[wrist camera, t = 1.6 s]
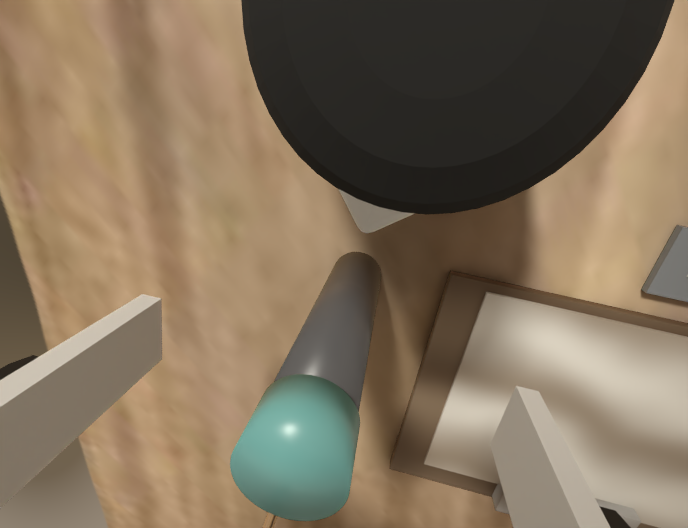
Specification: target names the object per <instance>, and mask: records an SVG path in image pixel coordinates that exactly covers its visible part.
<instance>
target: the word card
mask: <svg viewBox="0 0 688 528" xmlns="http://www.w3.org/2000/svg"><path fill="white" fill-rule="evenodd" d="M641 290H643V291H644V292H645V293H649V294H653V295H658V296H662V297H667V298H672V299H676V300H681V301H685V302H688V227H684V226H679V225H677V226H676V228H675V229H674V231H673V233H672V235H671V237H670V238H669V240H668V242H667V244H666V246H665V248H664V249H663V251H662V253H661V255H660V257H659V258H658V260H657V262H656V264H655V266H654V268H653V269H652V271H651V273H650V275H649V277H648V278H647V280H646V282H645V284H644V286H643V287H642V289H641Z"/></svg>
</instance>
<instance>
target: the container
mask: <svg viewBox="0 0 688 528" xmlns="http://www.w3.org/2000/svg"><path fill="white" fill-rule="evenodd" d="M673 3H674V0H242V13H243V27H244V34H245V40H246V45H247V50H248V56H249V61H250V64H251V67H252V70H253V74H254V77H255V80H256V83H257V87H258V89H259V92H260V94H261V96H262V98H263V100H264V103H265V105H266V107H267V109H268V112H269V114H270V115H271V117H272V119H273V120H274V122H275V124H276V125H277V127H278V129H279V130H280V132H281V134H282V135H283V137H284V138H285V139H286V140H287V142H288V143H289V144H290V146H291V147H292V148H293V149H294V151H295V152H296V153H297V154H298V156H299V157H300V158H301V159H302V160H303V161H305V162H306V163H307V164H308V165H309V166H310V167H311V168H312V169H313V170H314V171H315V172H316V173H317V174H318V175H320V176H321V177H322V178H324V179H325V180H327V181H328V182H329V183H331V184H332V185H333V186H335V187H336V188H338V189H339V191H340V193H341V195H342V197H343V199H344V201H345V203H346V205H347V207H348V209H349V211H350V213H351V215H352V217H353V219H354V221H355V223H356V225H357V227H358V228H359V229H360V231H361V232H364V233H371V232H375V231H377V230H379V229H381V228H384V227H386V226H388V225H390V224H393V223H395V222H397V221H399V220H402V219H404V218H406V217H408V216H411V215H413V214H415V213H417V214H443V213H455V212H460V211H466V210H471V209H477V208H480V207H483V206H486V205H490V204H493V203H496V202H499V201H502V200H505V199H507V198H509V197H511V196H513V195H515V194H518V193H520V192H522V191H524V190H526V189H528V188H530V187H532V186H534V185H535V184H537V183H538V182H540V181H542V180H543V179H545V178H547V177H548V176H550V175H551V174H553V173H555V172H556V171H557V170H559V169H560V168H561V167H562V166H564V165H565V164H566V163H567V162H569V161H570V160H571V159H572V158H574V157H575V156H576V155H578V154H579V153H580V152H581V151H582V150H583V149H584V148H585V147H586V146H587V145H588V144H589V143H590V142H591V141H592V140H593V139H594V138H595V137H596V136H597V135H598V134H599V133H600V132H601V131H602V130H603V129H604V128H605V127H606V125H607V124H608V123H609V122H610V120H611V119H612V118H613V117H614V116H615V114H616V113H617V112H618V111H619V109H620V108H621V107H622V106H623V104H624V103H625V102H626V100H627V99H628V97H629V95H630V94H631V92H632V91H633V89H634V88H635V86H636V84H637V83H638V81H639V80H640V78H641V77H642V75H643V73H644V72H645V70H646V68H647V66H648V64H649V62H650V60H651V58H652V56H653V54H654V51H655V49H656V47H657V45H658V43H659V41H660V39H661V37H662V34H663V31H664V28H665V26H666V23H667V20H668V17H669V14H670V11H671V9H672V6H673Z"/></svg>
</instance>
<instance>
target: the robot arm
mask: <svg viewBox="0 0 688 528" xmlns="http://www.w3.org/2000/svg"><path fill="white" fill-rule="evenodd" d="M161 359H162V310H161V298H157V297H153V296H148V295H144V294H142V295H140V296H138V297H137V298H135V299H133V300H132V301H130V302H129V303H127V304H125V305H124V306H122V307H120V308H119V309H117V310H115V311H114V312H112V313H110V314H109V315H107V316H105V317H104V318H102V319H100V320H99V321H97V322H96V323H94V324H92V325H91V326H89V327H87V328H86V329H84V330H82V331H81V332H79V333H77V334H76V335H74V336H72V337H71V338H69V339H67V340H66V341H64V342H63V343H61V344H59V345H58V346H56V347H54V348H53V349H51V350H49V351H48V352H46V353H45V354H43V355H41V356H39V357H38V356H34V355H32V356H30V357H27V358H24V359H21V360H19V361H16V362H13V363H10V364H8V365H6V366H5V367H3V368H1V369H0V508H1V507H2V506H3V505H4V504H5V503H7V502H8V501H9V500H10V499H11V498H12V497H13V496H14V495H15V494H16V493H17V492H18V491H20V489H22V488H23V487H24V486H25V485H26V484H27V483H28V482H29V481H30V480H32V479H33V478H34V477H35V476H36V475H37V474H38V473H39V472H40V471H41V470H42V469H43V468H44V467H46V465H48V464H49V463H50V462H51V461H52V460H53V459H54V458H55V457H56V456H57V455H58V454H59V453H60V452H62V451H63V450H64V449H65V448H66V447H67V446H68V445H69V444H70V443H72V442H73V441H74V440H75V439H76V438H77V437H78V436H79V435H80V434H81V433H82V432H83V431H85V430H86V429H87V428H88V427H89V426H90V425H91V424H92V423H93V422H94V421H95V420H96V419H98V418H99V417H100V416H101V415H102V414H103V413H104V412H105V411H106V410H107V409H108V408H109V407H111V406H112V405H113V404H114V403H115V402H116V401H117V400H118V399H119V398H120V397H121V396H122V395H124V394H125V393H126V392H127V391H128V390H129V389H130V388H131V387H132V386H133V385H134V384H135V383H137V382H138V381H139V380H140V379H141V378H142V377H143V376H144V375H145V374H146V373H147V372H148V371H150V370H151V369H152V368H153V367H154V366H155V365H156V364H157V363H158V362H159V361H160V360H161ZM490 446H491V449H492V453H493V457H494V460H495V464H496V467H497V471H498V475H499V478H500V482H501V485H502V489H503V493H504V496H505V500H506V503H507V507H508V511H509V514H510V518H511V521H512V525H513V528H631V527H630V526H629V525H628V524H627V523H626V522H625V520H624V519H623V518H622V517H621V516H620V515H619V514H618V513H617V511H616V510H612V509H608V508H604V507H601V506H599V505H598V503H597V501H596V499H595V497H594V495H593V493H592V491H591V489H590V488H589V486H588V484H587V482H586V480H585V478H584V476H583V474H582V472H581V470H580V469H579V467H578V465H577V463H576V461H575V459H574V457H573V455H572V453H571V451H570V450H569V448H568V446H567V444H566V442H565V440H564V438H563V436H562V434H561V432H560V431H559V429H558V427H557V425H556V423H555V421H554V419H553V417H552V415H551V413H550V412H549V410H548V408H547V406H546V404H545V402H544V400H543V398H542V396H541V394H540V393H539V391H536V390H532V389H528V388H524V387H519V386H516V387H515V389H514V392H513V394H512V396H511V398H510V401H509V403H508V405H507V407H506V410H505V412H504V414H503V416H502V419H501V421H500V423H499V426H498V428H497V430H496V432H495V435H494V437H493V439H492V441H491V444H490Z"/></svg>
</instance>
